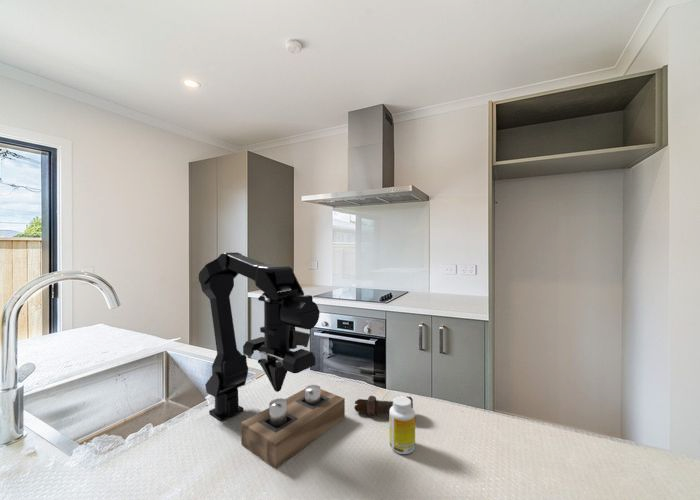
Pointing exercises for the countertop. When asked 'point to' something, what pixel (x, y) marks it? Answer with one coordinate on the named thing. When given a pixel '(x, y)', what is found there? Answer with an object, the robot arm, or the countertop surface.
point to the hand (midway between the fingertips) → (277, 390)
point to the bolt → (374, 406)
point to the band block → (291, 427)
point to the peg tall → (278, 412)
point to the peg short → (312, 395)
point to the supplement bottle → (402, 425)
